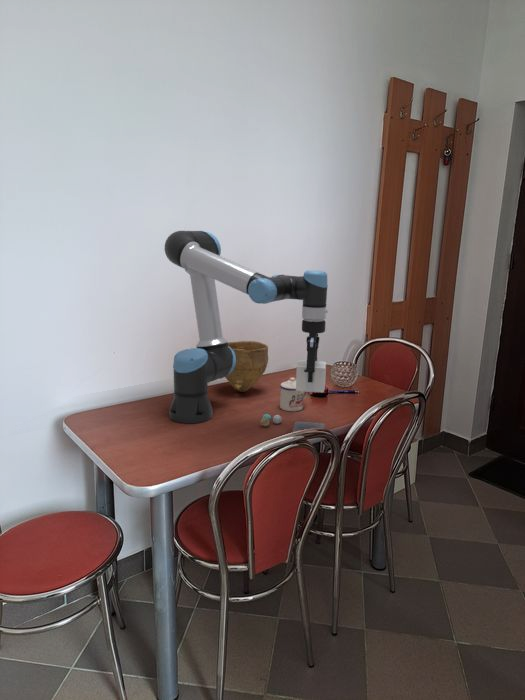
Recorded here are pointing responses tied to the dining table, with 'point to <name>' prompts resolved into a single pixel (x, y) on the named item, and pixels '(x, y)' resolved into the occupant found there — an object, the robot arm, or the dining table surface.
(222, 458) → the dining table surface
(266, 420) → the cork ball
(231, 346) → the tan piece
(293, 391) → the teacup with lid
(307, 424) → the pad
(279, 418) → the grey ball
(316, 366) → the cover
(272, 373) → the dining table surface
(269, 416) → the teal ball
